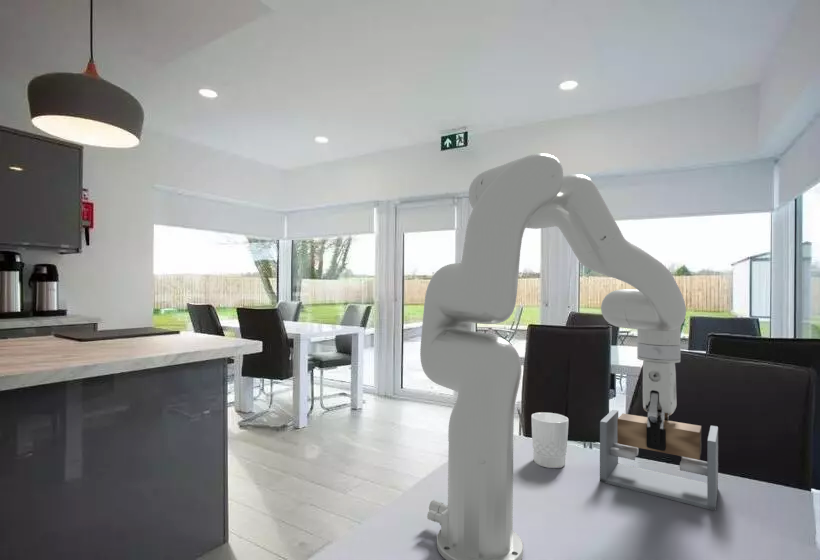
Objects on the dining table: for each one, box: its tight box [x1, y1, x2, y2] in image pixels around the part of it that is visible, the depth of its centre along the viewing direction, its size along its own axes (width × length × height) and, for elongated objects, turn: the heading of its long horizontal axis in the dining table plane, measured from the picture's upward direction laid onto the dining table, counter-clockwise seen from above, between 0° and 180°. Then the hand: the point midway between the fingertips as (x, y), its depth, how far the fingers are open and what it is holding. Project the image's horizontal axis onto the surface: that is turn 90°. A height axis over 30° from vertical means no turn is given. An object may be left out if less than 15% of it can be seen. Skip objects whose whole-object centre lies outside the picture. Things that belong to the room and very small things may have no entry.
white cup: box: [531, 411, 569, 469], centre depth 99 cm, size 8×8×10 cm
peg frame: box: [599, 409, 719, 511], centre depth 88 cm, size 19×11×12 cm, turn 54°
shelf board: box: [617, 413, 702, 460], centre depth 89 cm, size 14×5×5 cm, turn 54°
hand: (658, 443), depth 88 cm, fingers closed on shelf board, 5 cm apart
